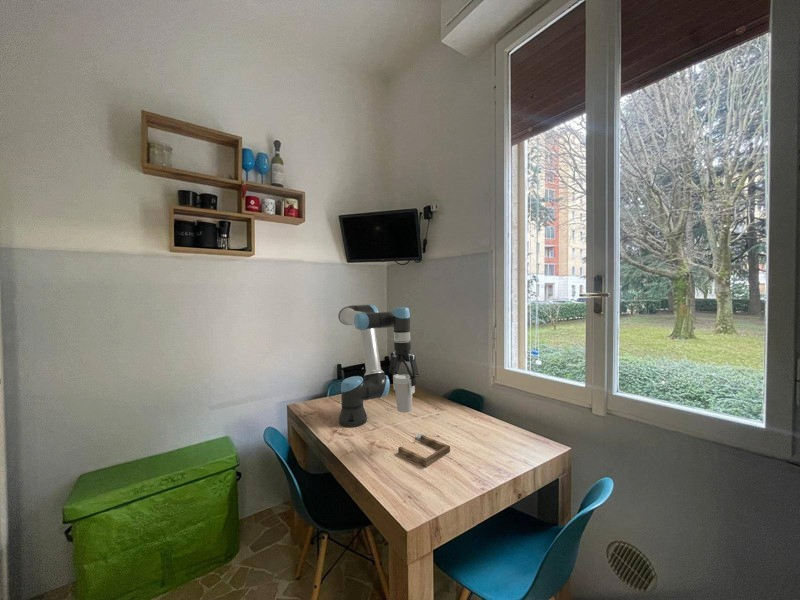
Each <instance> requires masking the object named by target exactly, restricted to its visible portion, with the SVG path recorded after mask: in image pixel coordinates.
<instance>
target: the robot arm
mask: <svg viewBox="0 0 800 600" xmlns="http://www.w3.org/2000/svg"><path fill="white" fill-rule="evenodd" d="M410 317H411V314H410V308H409V307H406V306H405V307H394V308H393V310H392V311H390V310H389V311H381V312H380V311H379V309H378V308H377V306H376V305H374V304H359V305H355V304H354V305H347V306H344V307H342V309H341V310H339V312H338V320H339V322H340V323H341V324H343V325H345V326H354V327H355V329H356V330H359V331H360V337H361V343H362V349H363V350H362V352H363V358H364V359H363V360H364V367H365V372H364V374H363V377H362V376H360V375H356V376H355V375H353V376H350V377H347V378H344V379H343V380H342V382H341V384H340V395H341V397H340V398H341V399H340V401H341V409H340V413H339V417H338V424H339V425H340V426H342V427H345V428H357V427H360V426H362V425H365V424H366V423H367V421H368V417H367V416H368V415H367V412H366V409H365V408H364V401H368V400H375V399H381V398H384V397H386V396H388V394H389V392H390V388H391V387H390V385H391V382H390V379H389V376H388V375H386V374H385V371H383V369H382V367H381V359H380V353H379V346H378V340H377V332H376V329H385V328H393V341H394V343H393V346H394V347H393V348H394V351H392V352H390V360H389V361H390V362H389V368H388V372H389V373H390V374H391V375H392V381H393V380H394V378H395V376H398V375H399V370H400V367H401V364H402V363H403V364H404V366H405V368H406V371H407V373H408V375H409V376H410V378H409V394H412V393H413V394H414V393H416V390H415V389H416V379H417V378H419V377H420V375H419V369H418V365H417V360H416V359H417V358H416V354H411V350H412V347H411V346H412V343H411V339H412V338H411V318H410ZM392 383H393V382H392ZM393 390H394V391H395V385H394V383H393ZM413 394H412V395H413Z"/></svg>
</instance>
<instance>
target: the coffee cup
mask: <svg viewBox="0 0 800 600" xmlns="http://www.w3.org/2000/svg"><path fill="white" fill-rule="evenodd" d="M409 378H410V376H409V374H398V376H395V378H394V380H393V379H392V383H394V384H393V386H394V385H395V390H394V391H395V400H396V408H397V409H396V410H397V412H398V413H410V412H411V411H412V410H413V394H414V393H412V394H409Z"/></svg>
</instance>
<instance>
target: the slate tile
mask: <svg viewBox="0 0 800 600" xmlns="http://www.w3.org/2000/svg"><path fill="white" fill-rule="evenodd" d="M422 435H424V436H426V437H427V435H426V434H423V433H418V434H416V436H415V437H414V439H415V440H418V441H421V437H420V436H422Z"/></svg>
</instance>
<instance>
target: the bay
mask: <svg viewBox="0 0 800 600" xmlns="http://www.w3.org/2000/svg"><path fill="white" fill-rule="evenodd" d="M424 435H425V434H423V435H422V436H420V437H421V440H420V442H421V443H423V444H426V445H429V446H430V447H433V448H435V449H438V450H436V451H434V452H433V453H432V454H430V455H428V456H427V457H424V456H422V455H420V454H418V453H415V452H413V451H411V450H409V449H407V448H405V447H403V446H399V447H398V449H397V450H398V451H397V454H399V455H401V456H403V457H405V458H406V459H409V460H411V461H412V462H415V463H417V464H418V465H421V466H423V467H425V468H428V467H429V466H431V465H432V464H434V463H436V461H438V460H440V459H441V458H442V457H444V456H446V455H447V454H449V453H451V446H450V445H448V444H446V443H443V442H440V441H438V440H436V439H433V438H431V437H429V436H427V435H426V436H424Z"/></svg>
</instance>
